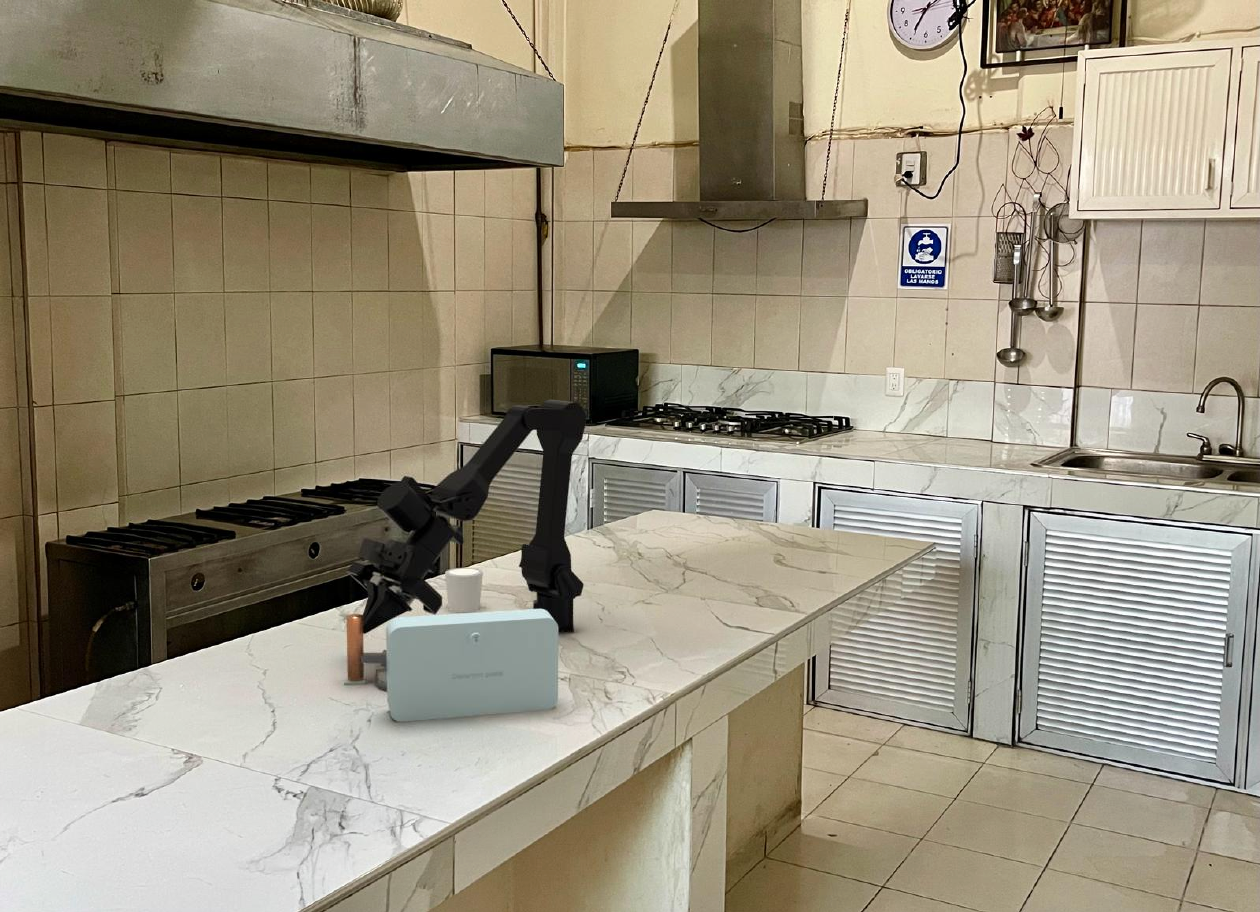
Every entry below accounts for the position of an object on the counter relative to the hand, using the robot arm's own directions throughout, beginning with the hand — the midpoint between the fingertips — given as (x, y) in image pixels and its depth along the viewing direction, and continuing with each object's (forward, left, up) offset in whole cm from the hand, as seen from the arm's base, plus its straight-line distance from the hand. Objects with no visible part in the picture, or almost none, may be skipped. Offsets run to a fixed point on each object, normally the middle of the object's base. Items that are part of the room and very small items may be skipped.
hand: (361, 631), depth 182 cm
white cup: (-14, -38, -7) cm, 42 cm away
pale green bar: (+1, +3, -7) cm, 8 cm away
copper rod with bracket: (-1, +2, -7) cm, 7 cm away
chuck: (-7, +3, -7) cm, 10 cm away
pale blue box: (-17, +15, -7) cm, 24 cm away
